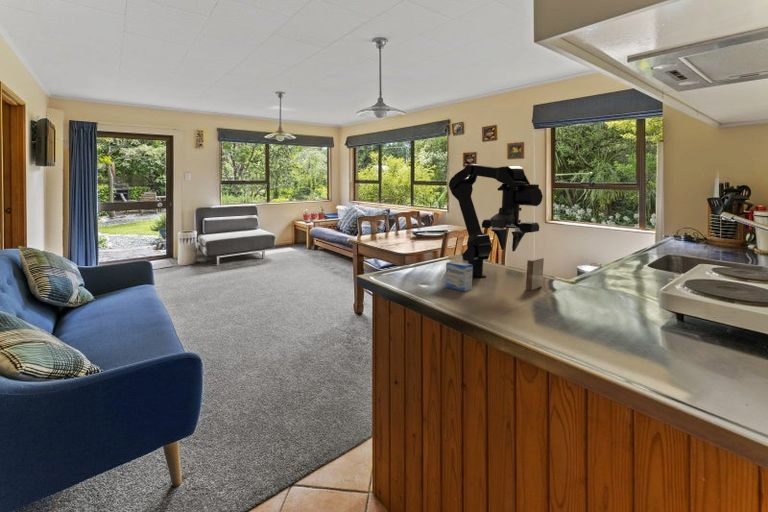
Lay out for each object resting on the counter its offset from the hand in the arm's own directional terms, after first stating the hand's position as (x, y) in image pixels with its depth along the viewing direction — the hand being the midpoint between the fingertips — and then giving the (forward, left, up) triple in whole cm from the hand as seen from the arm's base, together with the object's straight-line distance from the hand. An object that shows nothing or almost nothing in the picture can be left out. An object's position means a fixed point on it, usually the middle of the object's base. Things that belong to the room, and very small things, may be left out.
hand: (508, 250), depth 140 cm
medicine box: (+2, -18, -12) cm, 22 cm away
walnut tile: (+6, +7, -12) cm, 15 cm away
